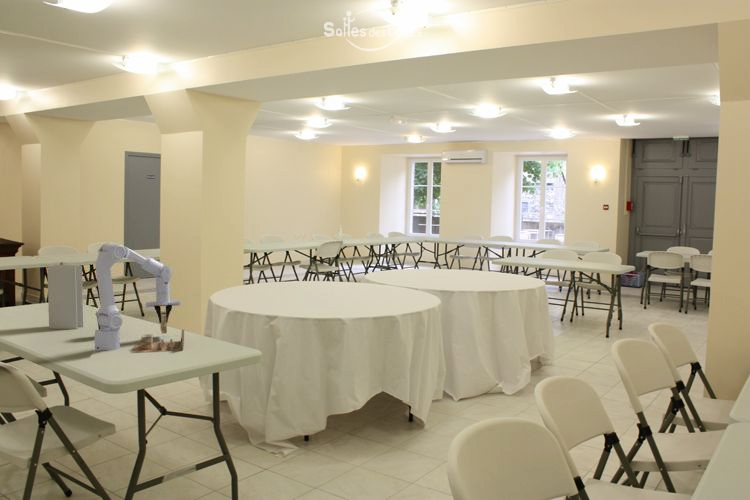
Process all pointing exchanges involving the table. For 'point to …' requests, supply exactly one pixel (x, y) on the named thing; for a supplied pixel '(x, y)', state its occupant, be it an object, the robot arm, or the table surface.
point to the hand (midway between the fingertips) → (163, 322)
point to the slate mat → (162, 336)
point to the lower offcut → (146, 345)
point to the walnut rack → (161, 346)
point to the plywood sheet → (163, 322)
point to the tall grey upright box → (65, 296)
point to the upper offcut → (147, 338)
